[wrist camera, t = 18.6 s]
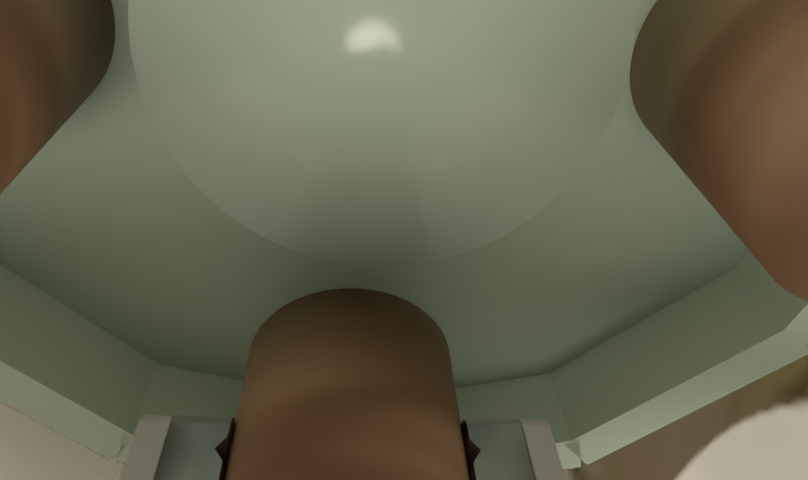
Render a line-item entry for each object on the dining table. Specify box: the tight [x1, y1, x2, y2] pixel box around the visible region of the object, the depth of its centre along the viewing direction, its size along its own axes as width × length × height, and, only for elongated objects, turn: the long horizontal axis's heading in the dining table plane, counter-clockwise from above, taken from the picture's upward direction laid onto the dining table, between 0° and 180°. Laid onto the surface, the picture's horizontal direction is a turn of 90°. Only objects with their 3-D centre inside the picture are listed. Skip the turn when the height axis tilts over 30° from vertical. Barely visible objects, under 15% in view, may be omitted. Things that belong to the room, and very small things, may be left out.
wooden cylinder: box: [224, 288, 470, 480], centre depth 11 cm, size 4×4×4 cm
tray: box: [0, 0, 808, 470], centre depth 10 cm, size 20×20×3 cm
